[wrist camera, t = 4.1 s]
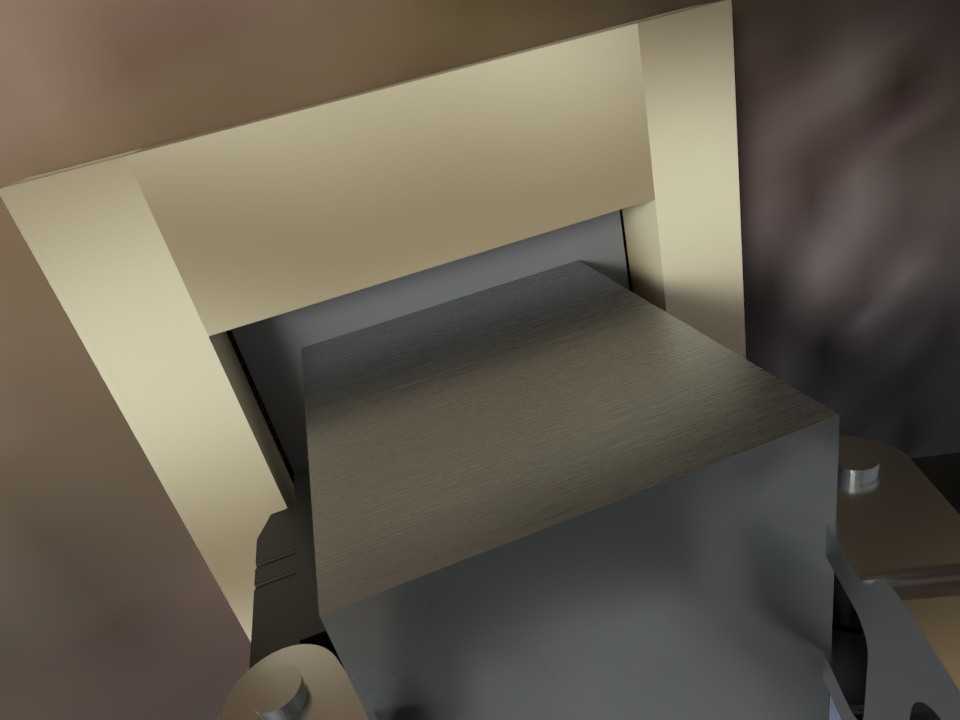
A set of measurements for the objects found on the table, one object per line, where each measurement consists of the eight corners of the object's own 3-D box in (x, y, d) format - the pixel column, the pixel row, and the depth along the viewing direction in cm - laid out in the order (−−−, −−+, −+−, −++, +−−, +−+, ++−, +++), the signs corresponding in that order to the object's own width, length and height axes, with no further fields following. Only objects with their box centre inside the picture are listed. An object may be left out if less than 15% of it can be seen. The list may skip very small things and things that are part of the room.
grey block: (577, 259, 11) (840, 414, 6) (613, 482, 13) (828, 738, 8) (300, 348, 11) (318, 615, 5) (387, 568, 13) (461, 914, 7)
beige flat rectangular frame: (31, 176, 9) (-3, 189, 8) (684, 7, 10) (731, -2, 9) (452, 968, 19) (462, 1019, 18) (742, 827, 21) (766, 867, 20)
